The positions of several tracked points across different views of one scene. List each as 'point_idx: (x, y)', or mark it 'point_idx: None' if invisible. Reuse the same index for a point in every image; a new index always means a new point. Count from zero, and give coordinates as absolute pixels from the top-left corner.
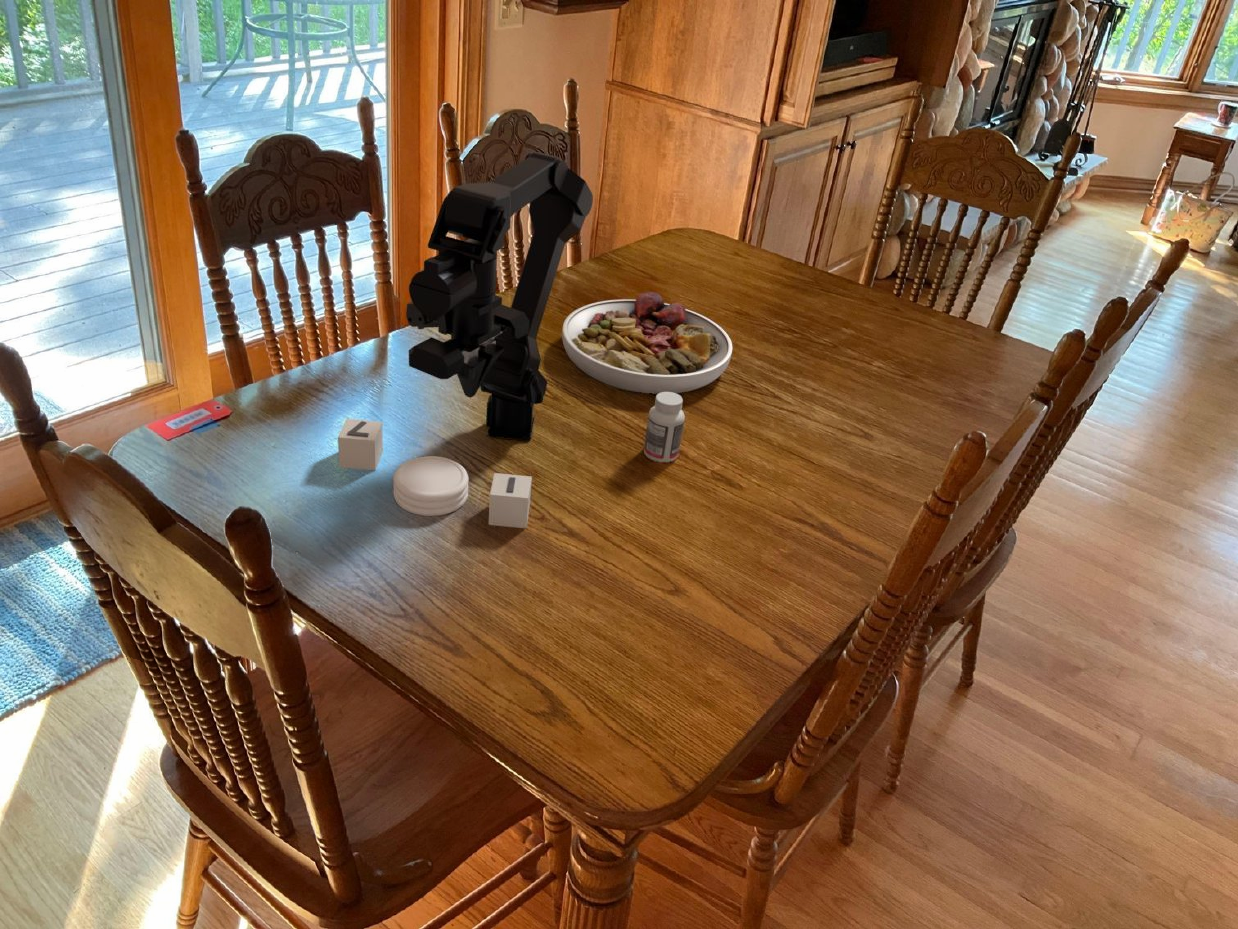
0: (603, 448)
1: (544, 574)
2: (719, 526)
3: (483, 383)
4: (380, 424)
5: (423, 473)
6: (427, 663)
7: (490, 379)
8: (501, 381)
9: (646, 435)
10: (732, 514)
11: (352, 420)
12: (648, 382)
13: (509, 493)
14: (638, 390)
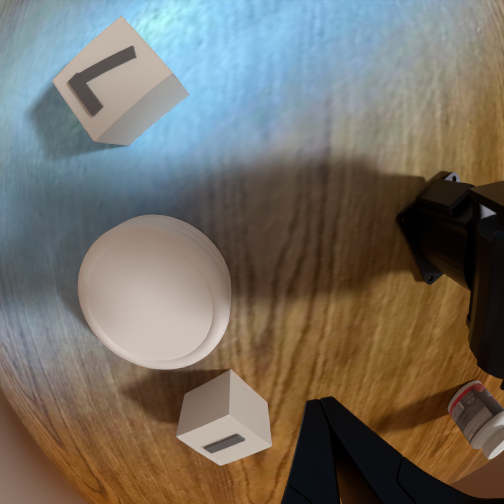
0: (453, 358)
1: (178, 462)
2: None
3: (478, 237)
4: (160, 80)
5: (138, 289)
6: (38, 433)
7: (488, 280)
8: (487, 319)
9: (471, 406)
10: None
11: (123, 29)
12: None
13: (205, 450)
14: None
